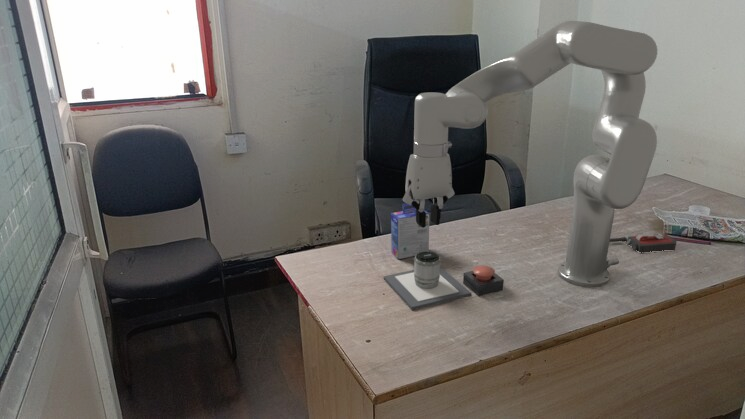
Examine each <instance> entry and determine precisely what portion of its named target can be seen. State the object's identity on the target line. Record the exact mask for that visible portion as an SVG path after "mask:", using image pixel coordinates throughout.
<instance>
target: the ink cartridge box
mask: <svg viewBox="0 0 745 419" xmlns="http://www.w3.org/2000/svg"><path fill="white" fill-rule="evenodd" d="M401 206H402V211H401V210H400V211H397V212H391V213H390V229H391V231H390V234H391V235H390V236H391V237H390V238H391V239H390V240H391V244H390V245H391V246H390V247H391V254H392V255H393V256H394V257H395V258H396V259H397V260H401V259H405V258H411V257H415V256H416V255H417V254H418V253H421V252H430V251H429V250H430V217H431V213H430V212H428V211H427V210H425V209H424V211H425V212H426V226H425V227H424V228H422V227H421V226H419V225H418V224H417V222H416V209H415V208H414V207H413V206H412V205H409V204H407V203H402V204H401ZM408 206H410V208H406V207H408Z"/></svg>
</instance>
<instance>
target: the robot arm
mask: <svg viewBox="0 0 745 419" xmlns="http://www.w3.org/2000/svg"><path fill="white" fill-rule="evenodd" d="M657 57H658V46H657V43H656V41H655V40H654V38H653V37H652V36H650V35H649V34H647V33H644V32H640V31H635V30H628V29H623V28H618V27H611V26H608V25H604V24H600V23H596V22H595V23H594V22H590V21H589V22H588V21H580V20H579V21H578V20H566V21H564V22H561V23H559V24H557V25H555V26H554V27H552V28H550V29H549V30H547V31H545V33H543V34H541V35H540V36H538V37H537V38H534V40H532V41H530V42H529V43H527V44H526V45H524V46H523V47H522V48H520V49H519V50H517V51H516V52H513V54H511V55H509V56H507V57H504V58H502V59H500V60H498V61H496V62H494V63H491V64H489V65H487V66H486V67H483V68H481V69H479V70H477V71H475V72H474V73H472V74H471V75H469V76H467V77H466V78H464V79H462V80H461V81H459V82H458V83H456V84H455V85H454V86H452V87H451V88H450V89H448V91H447V92H446V93H443V92H432V91H431V92H421V93H419V94H418V95H417V96H415V99H414V113H413V114H414V116H413V117H414V120H413V121H414V122H413V125H414V126H413V128H414V129H413V153H412V154H410V155H409V159H408V163H407V168H406V175H405V193H404V196H403V197H402V199H401V200H402V201H403V202H404V204H406V203H407V204H409V205H412V206H411V207H412V208H413V207H414V208H415V209H416V222H417V224H418V225H419V226H421V227H422V228H424V227H425V226H426V212H425V211H426V210H425V204H426V200H428V199H429V200H430V199H432V204H431V206H430V218H429V221H430V222H431V223H433V224H434V225H435V226H439V225H440V220H441V212H442V209H443V208H444V205H445V203H446V202H447V201H448V200H449V199H450V198H452V197H453V196H454V195H455V194H456V193H455V191H454V188H453V184H452V183H453V182H452V181H453V174H452V162H451V158H450V154H449V153H448V151H449V148H450V149H451V148H452V146H453V143H452V141H449V128H458V129H464V130H465V129H475V128H478V127H480V126H481V125H482V124H483V123H484V122H485V121H486V119H487V117H488V113H489V111H488V110H489V109H488V105H487V102H488V101H490V100H492V99H495V98H496V97H499V96H502V95H506V94H512V93H520V92H525V91H528V90H531V89H534V88H535V87H536V86H538V85H539V84H540V83H543V81H545V80H546V79H548V78H550V77H553V75H554V74H556V73H558V72H559V71H562V69H564V68H566V67H567V66H569V65H576V66H582V67H587V68H590V69H594V70H597V71H598V70H599V71H601V73H602V76H603V81H604V87H603V88H604V89H603V93H602V94H603V95H602V97H601V98H602V99H601V101H600V105H599V108H598V112H597V115H596V117H595V122H594V125H593V129H592V131H591V140H592V143H593V144H594V146H595V147H597V148H598V149H599V150H602V151H603V152H605V153H607V154H609V155H610V157H608V156H605V155H602V154H591V155H587V156H586V157H584V158H582V159H581V160H580V161H579V162H577V165H576V167H575V169H574V172H573V181H572V182H573V204H572V205H573V206H572V214H571V220H570V226H569V227H570V228H569V235H568V236H569V237H568V240H567V242H568V243H567V249H566V256H565V261H564V262H561V263H560V264H559V265H558V268H557V273H558V275H559V276H560V277H561V279H563V280H565V281H566V282H568V283H570V284H573V285H576V286H581V287H587V288H589V287H590V288H591V287H592V288H593V287H594V288H595V287H601V286H605V285H607V284H608V283H610V280H611V274H610V272H609V270H608V269H609V268H610V267H611V266H617V265H619V263H620V259H619V258H618V257H617V256H615V257H610V258H608V254H609V253H608V252H609V248H610V243H611V242H610V239H611V236H612V235H611V234H612V229H613V223H614V218H615V210H622V209H626V208H628V207H630V206H631V205H633V204H634V203H635V202H636V200H637V199H638V198H639V196H641V192H642V190H643V188H644V185H645V182H646V180H647V177H648V174H649V171H650V168H651V165H652V162H653V159H654V158H655V154H656V150H657V147H658V146H657V144H658V139H657V137H658V136H657V132H656V130H655V128H654V127H653V125H652V124H651V123H649V122H648V121H646V120H644V119H641V118H640V113H641V110H642V105H643V102H644V99H645V94H646V88H647V86H646V76H645V72H646V71H648V70H649V69H650V68H652V67H653V65H654V64H655V62H656V60H657ZM409 205H408V206H409ZM424 210H425V211H424Z"/></svg>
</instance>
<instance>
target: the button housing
mask: <svg viewBox="0 0 745 419" xmlns="http://www.w3.org/2000/svg"><path fill="white" fill-rule="evenodd" d="M462 281H463V282H462V285H465V286H466V287H467V288H468V289H469V291H470V290H471V291H472V292H473V293H474V294H475V295H476V296H477V297H481V296H482V297H483V296H486V295H489V294H495V293H498V292H502V291H503V290H504V283H505V282H504V281H505V280H504V279H503V277H501V276H499V275H498V274H497V273H496V272H495V274H494V275H493V276H492V277H491V280H487V281H483V282H480V281H479V280H478V279H477V278H476V275H475V274H474V273H473V270H470V271H465V272H463V280H462Z"/></svg>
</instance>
